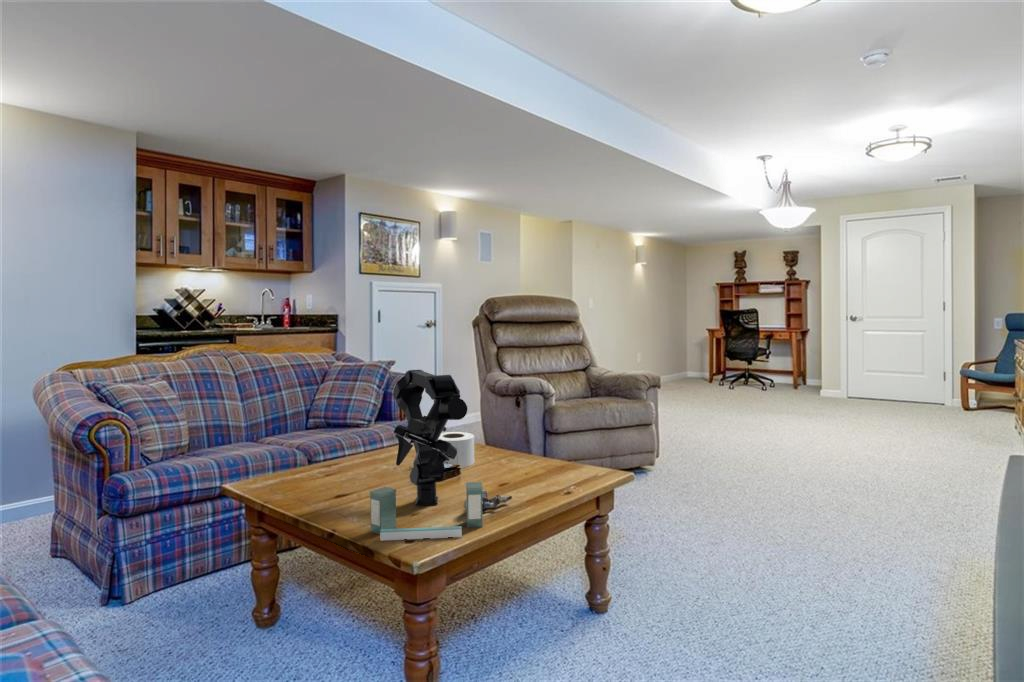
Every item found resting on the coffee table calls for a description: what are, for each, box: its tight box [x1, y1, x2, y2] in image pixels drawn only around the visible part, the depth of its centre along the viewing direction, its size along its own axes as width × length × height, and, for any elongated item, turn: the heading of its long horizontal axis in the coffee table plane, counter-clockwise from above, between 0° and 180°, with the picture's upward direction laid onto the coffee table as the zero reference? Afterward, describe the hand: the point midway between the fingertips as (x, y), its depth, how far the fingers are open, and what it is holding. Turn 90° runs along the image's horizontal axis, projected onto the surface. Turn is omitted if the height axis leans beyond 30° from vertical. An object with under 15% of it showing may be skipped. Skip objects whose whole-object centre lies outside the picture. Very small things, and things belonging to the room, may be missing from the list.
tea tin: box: [369, 486, 397, 535], centre depth 149 cm, size 5×4×10 cm
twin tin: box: [465, 481, 484, 529], centre depth 154 cm, size 5×4×10 cm
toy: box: [463, 490, 513, 512], centre depth 166 cm, size 7×11×15 cm
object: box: [433, 431, 475, 468], centre depth 218 cm, size 16×15×11 cm
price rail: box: [379, 525, 463, 542], centre depth 144 cm, size 1×20×2 cm, turn 96°
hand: (410, 470), depth 155 cm, fingers open, 9 cm apart
